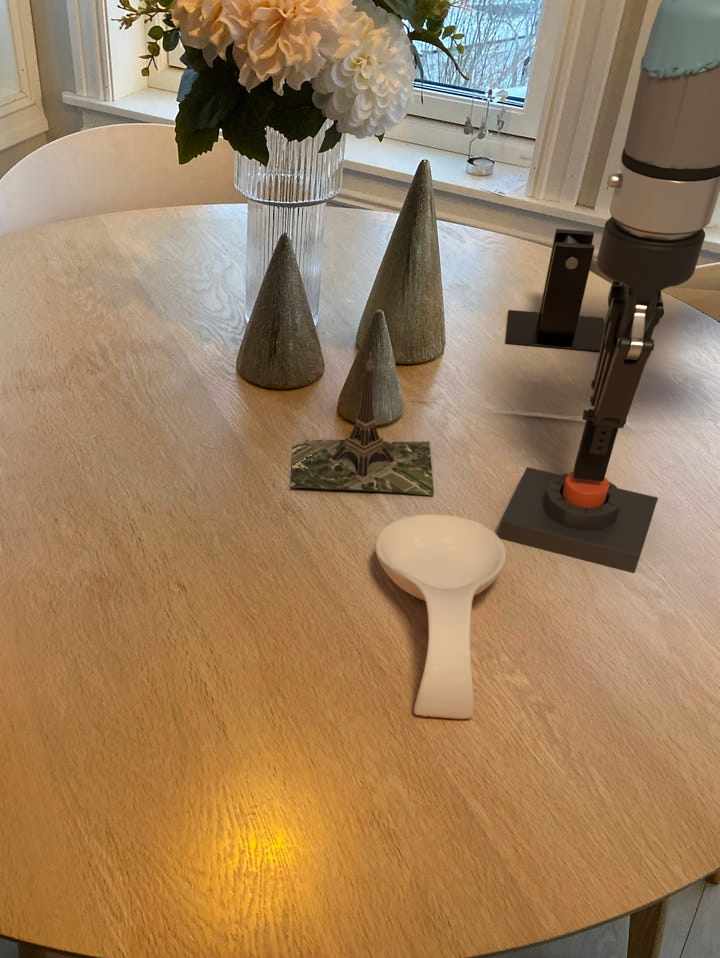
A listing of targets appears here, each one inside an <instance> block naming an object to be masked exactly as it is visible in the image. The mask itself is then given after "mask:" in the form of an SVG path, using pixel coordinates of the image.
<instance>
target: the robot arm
mask: <svg viewBox="0 0 720 958" xmlns="http://www.w3.org/2000/svg"><path fill="white" fill-rule="evenodd" d="M639 69H640V72H639V76H638V81H637V86H636V91H635V96H634V100H633V105H632V110H631V114H630V119H629V123H628V128H627V133H626V137H625V142H624V146H623V149H622V152H621V157H620V159H621V160H620V163H619V171H620V173H610V174H609V175H608V176H607V181H606V185H607V186H608V187H609V188H613V191H612V192H613V193H612V196H611V200H610V204H609V214H610V216H611V217H610V218H608V219H607V220H606V222H605V224H604V227H603V231H602V235H601V240H600V244H599V249H598V253H597V257H596V261H597V265H598V268H599V269H600V271H601V272H602V273H603V274H604V275H605V276H607V277H608V278H610V279H612V280H613V282H612V284H611V285H610V288H609V291H608V296H607V306H608V309H607V312H606V316H605V319H604V333H603V338H602V342H601V347H600V351H599V353H598V356H597V361H596V366H595V370H594V375H593V379H592V380H591V381H590V386H591V391H592V395H591V396H590V398H589V402H590V407H593V408H592V409H591V408H588V409H584V410H583V414H582V421H585V422H584V427H583V431H582V435H581V439H580V443H579V446H578V451H577V454H576V457H575V462H574V465H573V472H574V478H577V479H586V480H595V481H604V478H606V474H607V471H608V467H609V462H610V459H611V456H612V453H613V449H614V445H615V441H616V439H617V435H618V432H619V429H624V427H625V425H626V423H627V418H628V415H629V413H630V409H631V407H632V404H633V400H634V398H635V394H636V392H637V390H638V386H639V384H640V381H641V378H642V375H643V372H644V371H645V370H644V369H645V367H646V364H647V362H648V360H649V358H650V356H651V354H652V352H653V351H654V349H655V342H654V339H652V336H653V334H654V330H655V328H656V327H657V326H658V325H659V323H660V320H661V318H660V317H661V314H662V310H663V308H664V302H659V300H660V295H662V290H665V289H667V288H671V287H673V288H674V287H678V286H680V285H683V284H685V283H686V282H688V281H690V279H691V278H692V277H693V275H694V273H695V270H696V268H697V264H698V261H699V257H700V254H701V251H702V248H703V245H704V242H705V239H706V232H705V230H704V228H706V227H707V226H708V225H710V223H711V220H712V216H713V214H714V210H715V208H716V204H717V203H718V198H719V194H720V0H661V1H660V4H659V6H658V8H657V11H656V14H655V17H654V21H653V23H652V25H651V29H650V32H649V36H648V39H647V43H646V46H645V49H644V53H643V55H642V57H641V61H640V66H639Z"/></svg>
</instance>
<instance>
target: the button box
mask: <svg viewBox="0 0 720 958" xmlns="http://www.w3.org/2000/svg"><path fill="white" fill-rule="evenodd" d="M568 474H569V473H562V474H558V473H554V472H549V471H545V470H541V469H537V468H532V467H528V466H527V467H526V468H525V469H524V472H523V474H522V476H521V478H520V479H519V482H518V484H517V487H516V488H515V490H514V493H513V495H512V497H511V499H510V501H509V503H508V504H507V507H506V509H505V511H504V513H503V515H502V517H501V519H500V522H499V528H498V531H497V536H498V537H499V538H500V539H501V540H503V541H507V542H511V543H515V544H519V545H523V546H527V547H531V548H535V549H538V550H541V551H546V552H549V553H554V554H557V555H562V556H565V557H569V558H573V559H577V560H581V561H585V562H589V563H593V564H596V565H601V566H604V567H606V568H607V567H608V568H612V569H615V570H619V571H623V572H628V573H631V574H636V570H637V567H638V564H639V561H640V558H641V556H642V552H643V549H644V545H645V542H646V538H647V535H648V532H649V529H650V526H651V523H652V520H653V516H654V513H655V509H656V506H657V503H658V499H659V497H657V496H653V495H648V494H645V493H640V492H636V491H631V490H628V489H622V488H619V487H618V486H617V485H615V484H614V483H612V482H611V481H609V480H608V482H609V489H608V492H607V496H606V499H605V502H604V503H603V505H601V506H600V507H596V508H584V507H580V506H575V505H572V504H570V503H569V502H567V501H566V500H565V499H564V498H563V495H562V492H563V488H564V484H565V480H566V477H567V476H568Z"/></svg>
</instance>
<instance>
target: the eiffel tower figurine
mask: <svg viewBox="0 0 720 958" xmlns="http://www.w3.org/2000/svg"><path fill="white" fill-rule="evenodd" d="M371 358H372V351H370V352H369V359H368V361H366V363H365V367H366V371H365V378H364V383H363V384H364V385H363V391H362V397H361V403H360V408H359V411H358V416H357V418H355V424H354V426H353V428H352V431H351V433H350V435H348V436H345V439H293V440H292V447H291V464H290V467H291V466H292V465H295V464H296V463H298V462H299V461H301V460H303V459H304V458H306V460H304V461H301V463H302V464H300V465H298V466H299V468H295V469H294V468H292V469H291V468H290V486H289V487H290V488H304V489H305V488H306V489H316V490H332V491H333V490H334V491H335V490H339V491H340V490H342V491H344V490H345V491H366V492H367V491H368V492H384V493H398V494H399V493H401V494H411V495H419V496H420V495H421V496H434V495H435V492H434V479H433V478H434V477H433V465H432V455H431V442H430V441H429V440H428V441H427V440H425V441H385V440H384V438H383V437H381V436H380V435H379V433H378V430H377V426H376V418H375V417H374V407H373V369H374V366H375V364H374V361H373V360H372V359H371ZM309 455H312V456H309ZM308 456H309V457H308ZM308 459H309V460H308Z"/></svg>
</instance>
